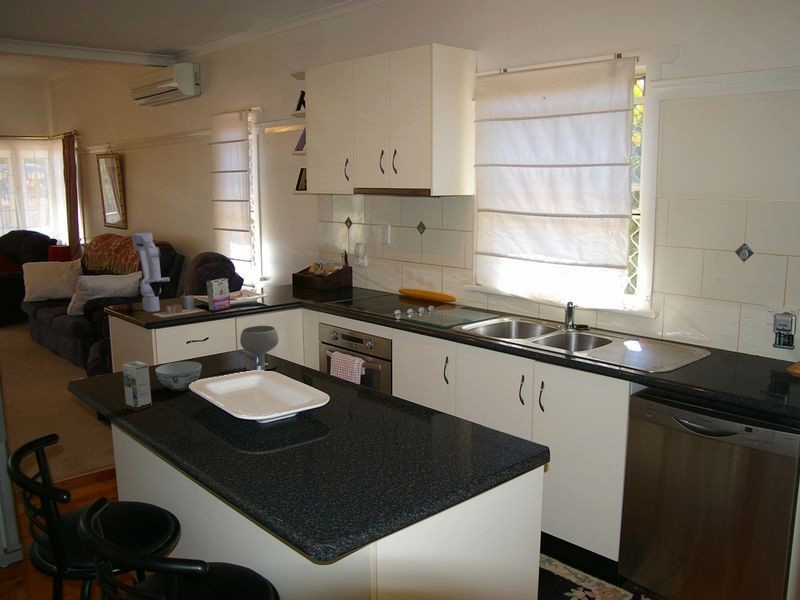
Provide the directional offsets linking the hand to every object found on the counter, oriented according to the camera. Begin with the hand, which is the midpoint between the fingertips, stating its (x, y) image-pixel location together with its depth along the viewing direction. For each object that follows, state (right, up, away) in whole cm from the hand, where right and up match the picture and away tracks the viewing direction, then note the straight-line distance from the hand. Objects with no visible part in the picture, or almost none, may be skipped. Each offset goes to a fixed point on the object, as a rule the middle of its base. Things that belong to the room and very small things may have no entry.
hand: (156, 296), depth 365 cm
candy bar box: (+29, -7, +15) cm, 33 cm away
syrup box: (+45, -36, -145) cm, 156 cm away
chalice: (+75, -28, -103) cm, 130 cm away
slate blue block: (+13, -7, +15) cm, 21 cm away
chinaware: (+52, -32, -126) cm, 140 cm away
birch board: (+10, -9, +6) cm, 15 cm away
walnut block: (+5, -7, +2) cm, 9 cm away
